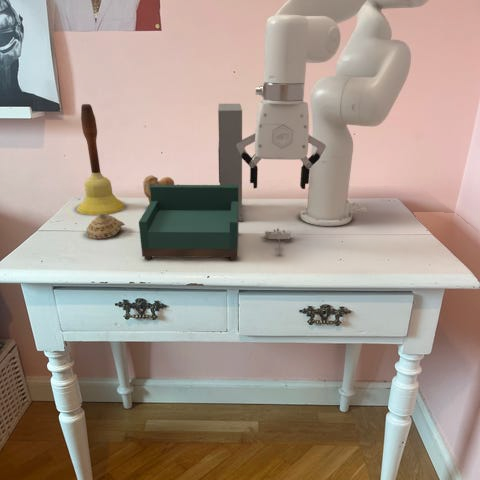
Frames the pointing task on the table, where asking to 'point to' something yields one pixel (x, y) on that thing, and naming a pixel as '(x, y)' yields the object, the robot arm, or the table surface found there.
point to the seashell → (103, 227)
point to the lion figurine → (154, 181)
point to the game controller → (278, 235)
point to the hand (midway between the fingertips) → (278, 187)
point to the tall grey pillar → (230, 147)
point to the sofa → (191, 221)
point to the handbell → (96, 174)
